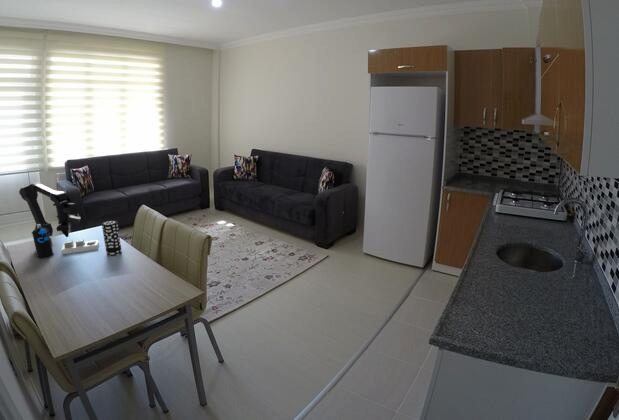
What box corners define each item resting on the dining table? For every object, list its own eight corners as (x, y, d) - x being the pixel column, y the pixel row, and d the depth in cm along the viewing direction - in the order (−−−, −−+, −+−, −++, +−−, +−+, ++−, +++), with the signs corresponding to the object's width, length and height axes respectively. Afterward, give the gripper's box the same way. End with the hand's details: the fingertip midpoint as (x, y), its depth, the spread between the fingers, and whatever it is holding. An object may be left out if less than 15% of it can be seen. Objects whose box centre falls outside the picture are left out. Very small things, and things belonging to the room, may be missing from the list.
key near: (65, 248, 222) (64, 243, 221) (65, 245, 226) (65, 241, 225) (72, 247, 224) (71, 242, 223) (73, 244, 227) (72, 240, 226)
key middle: (76, 246, 225) (75, 242, 224) (77, 244, 228) (76, 239, 227) (83, 245, 226) (83, 241, 225) (84, 243, 230) (83, 239, 229)
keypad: (62, 254, 220) (61, 249, 219) (64, 248, 228) (63, 244, 227) (97, 249, 228) (97, 244, 227) (98, 244, 236) (98, 239, 235)
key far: (87, 247, 228) (87, 242, 227) (88, 245, 231) (87, 240, 230) (95, 246, 229) (94, 241, 228) (95, 244, 233) (94, 239, 232)
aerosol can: (33, 257, 215) (26, 225, 210) (47, 252, 223) (41, 221, 217) (43, 259, 213) (36, 227, 207) (56, 254, 220) (50, 223, 214)
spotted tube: (111, 257, 217) (106, 226, 211) (103, 254, 221) (98, 223, 215) (124, 252, 224) (120, 222, 218) (116, 249, 228) (112, 219, 222)
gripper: (76, 215, 214) (81, 240, 218) (79, 207, 230) (83, 230, 234) (54, 217, 209) (59, 242, 214) (59, 209, 225) (63, 232, 230)
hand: (67, 236), depth 223 cm, fingers closed
